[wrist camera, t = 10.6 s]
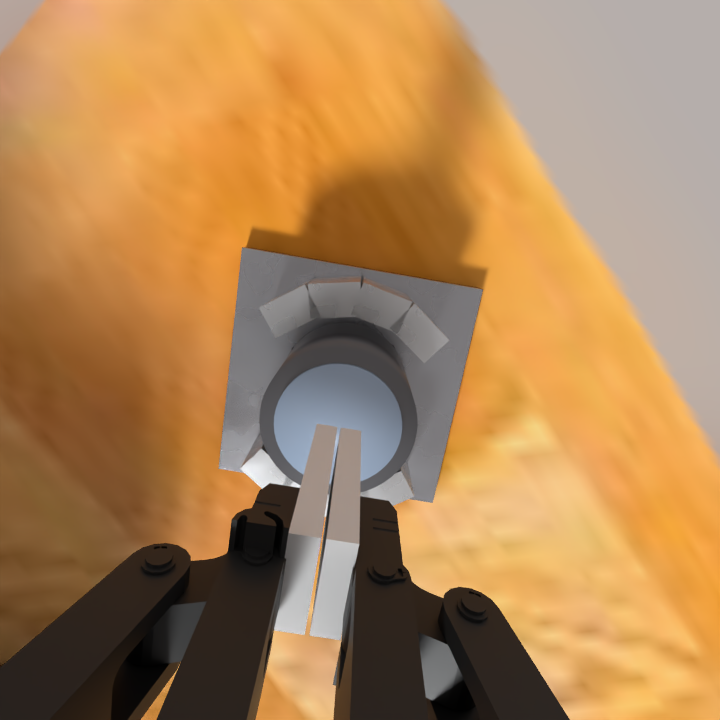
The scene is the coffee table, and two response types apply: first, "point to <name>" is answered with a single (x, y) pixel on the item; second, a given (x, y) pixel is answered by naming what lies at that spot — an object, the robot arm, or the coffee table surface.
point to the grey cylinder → (340, 402)
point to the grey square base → (358, 306)
